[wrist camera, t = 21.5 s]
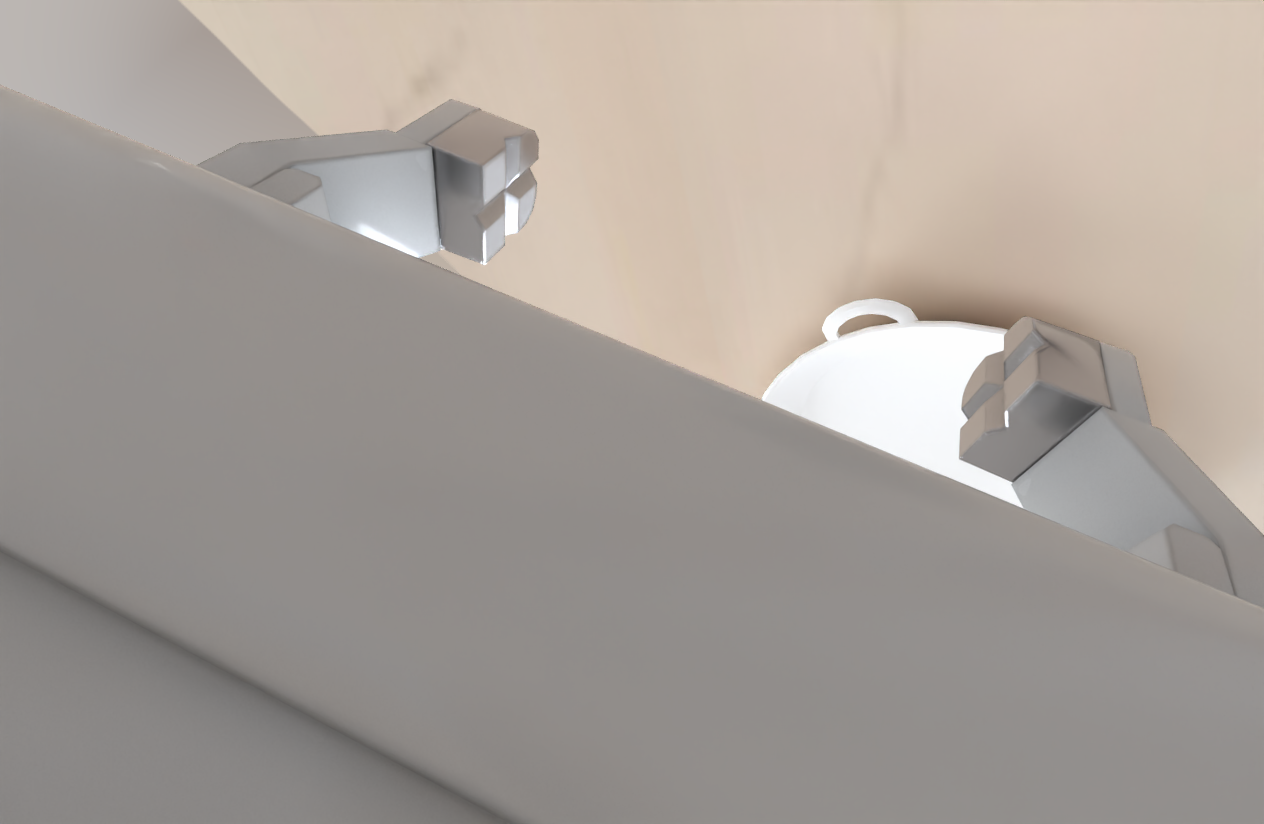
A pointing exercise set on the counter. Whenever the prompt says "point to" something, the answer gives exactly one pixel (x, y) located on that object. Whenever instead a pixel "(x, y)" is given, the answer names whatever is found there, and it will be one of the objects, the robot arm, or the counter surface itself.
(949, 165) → the counter surface
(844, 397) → the pan
